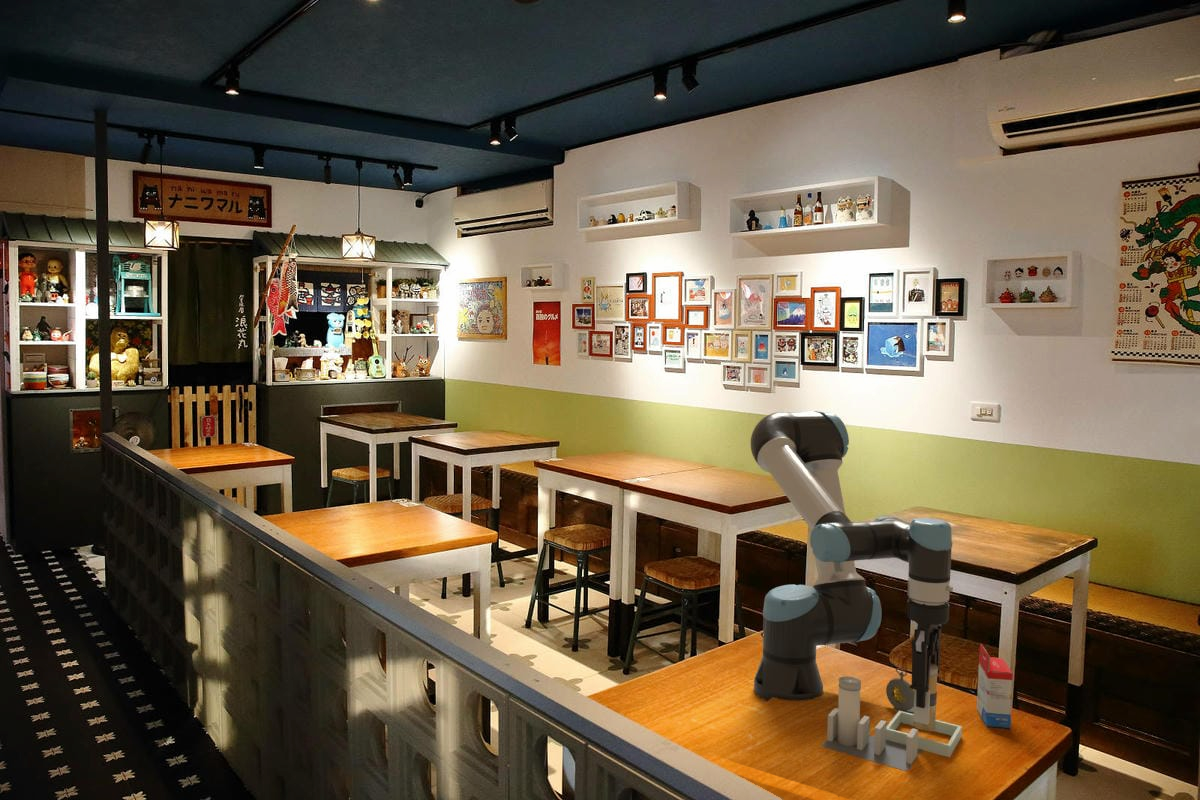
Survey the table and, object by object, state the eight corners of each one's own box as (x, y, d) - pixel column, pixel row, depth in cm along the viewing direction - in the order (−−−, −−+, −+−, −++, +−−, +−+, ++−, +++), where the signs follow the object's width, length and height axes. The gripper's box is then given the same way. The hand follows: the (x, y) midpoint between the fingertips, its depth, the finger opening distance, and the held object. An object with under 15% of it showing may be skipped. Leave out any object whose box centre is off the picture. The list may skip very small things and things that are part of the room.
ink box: (1011, 729, 172) (1014, 659, 171) (985, 726, 173) (988, 657, 172) (1000, 711, 180) (1003, 644, 179) (975, 709, 181) (978, 642, 180)
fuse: (833, 742, 162) (835, 681, 161) (841, 734, 165) (842, 674, 164) (855, 748, 160) (857, 686, 159) (861, 740, 163) (863, 679, 162)
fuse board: (820, 753, 160) (821, 720, 160) (838, 733, 169) (839, 702, 168) (907, 779, 151) (908, 744, 151) (921, 757, 160) (922, 723, 159)
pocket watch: (925, 705, 182) (927, 660, 182) (927, 722, 174) (928, 675, 174) (885, 700, 185) (887, 655, 184) (885, 716, 177) (887, 669, 176)
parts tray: (884, 746, 164) (884, 728, 163) (898, 727, 172) (899, 710, 171) (949, 764, 157) (950, 746, 156) (961, 744, 165) (961, 726, 165)
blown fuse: (910, 726, 163) (912, 666, 162) (916, 719, 167) (918, 660, 166) (932, 732, 161) (934, 671, 160) (937, 724, 164) (940, 664, 164)
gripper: (938, 614, 153) (933, 739, 155) (958, 592, 167) (954, 707, 169) (896, 607, 157) (892, 728, 159) (919, 586, 171) (915, 698, 173)
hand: (924, 717), depth 164 cm, fingers closed on blown fuse, 4 cm apart
